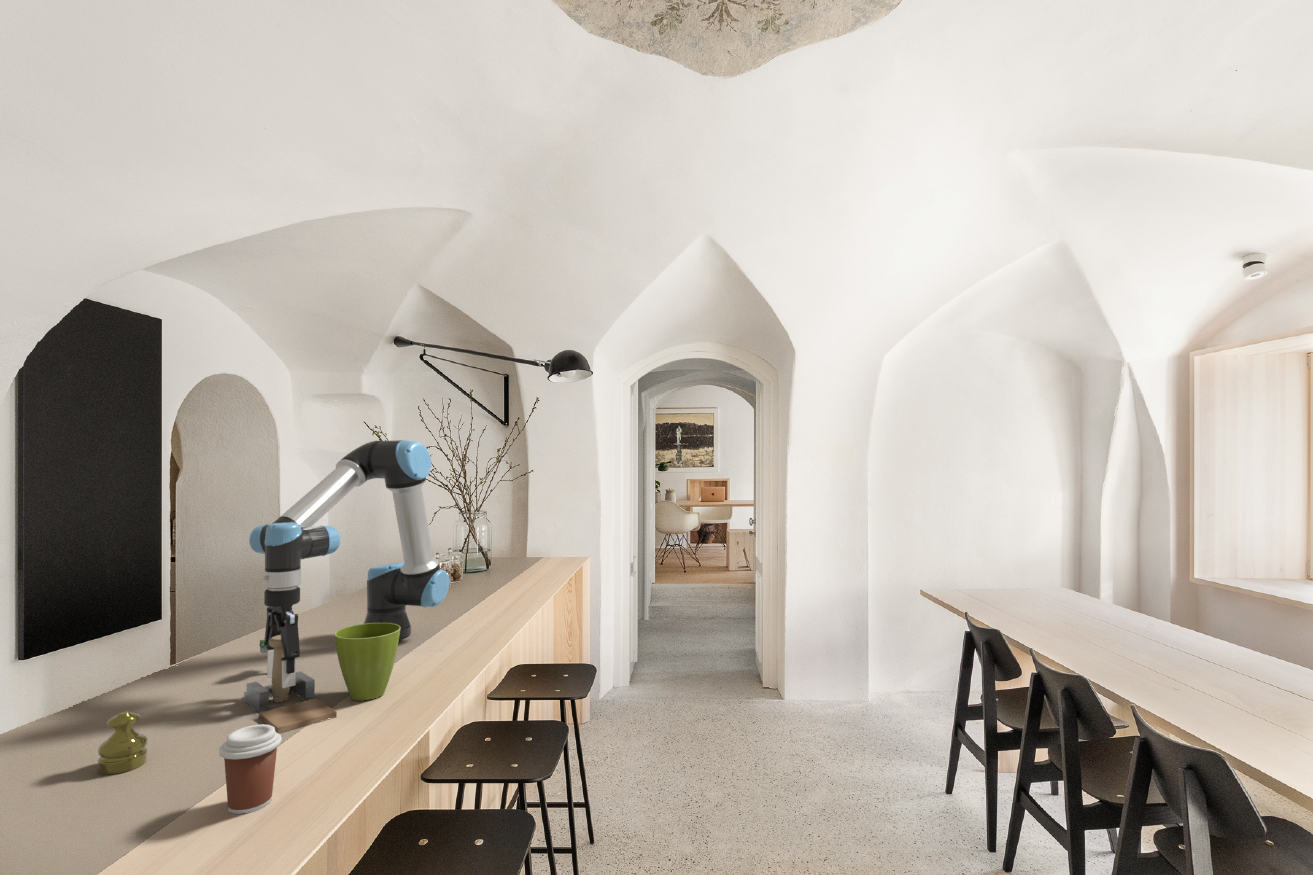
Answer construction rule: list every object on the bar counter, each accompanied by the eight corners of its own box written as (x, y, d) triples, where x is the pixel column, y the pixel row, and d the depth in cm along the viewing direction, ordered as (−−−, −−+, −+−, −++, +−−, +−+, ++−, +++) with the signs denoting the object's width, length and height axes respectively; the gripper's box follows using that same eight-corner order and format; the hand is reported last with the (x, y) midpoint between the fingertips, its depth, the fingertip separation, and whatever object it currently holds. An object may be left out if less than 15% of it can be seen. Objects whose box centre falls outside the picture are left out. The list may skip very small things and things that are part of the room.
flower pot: (319, 700, 159) (320, 633, 159) (371, 681, 172) (372, 619, 172) (361, 711, 152) (362, 641, 152) (412, 691, 165) (413, 626, 166)
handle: (264, 706, 155) (265, 641, 155) (275, 696, 161) (276, 634, 162) (286, 704, 156) (287, 641, 156) (296, 695, 162) (297, 633, 163)
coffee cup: (291, 789, 117) (292, 721, 117) (262, 818, 108) (263, 743, 108) (238, 790, 117) (239, 721, 117) (205, 818, 108) (206, 744, 108)
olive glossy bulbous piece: (141, 753, 131) (142, 702, 131) (152, 764, 126) (153, 711, 126) (93, 767, 125) (94, 713, 125) (102, 779, 120) (103, 724, 121)
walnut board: (315, 703, 157) (315, 698, 157) (336, 717, 149) (336, 711, 149) (259, 718, 148) (259, 712, 148) (278, 733, 140) (278, 727, 140)
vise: (294, 685, 169) (294, 667, 169) (314, 698, 160) (314, 679, 160) (241, 698, 160) (241, 679, 160) (259, 712, 151) (259, 692, 151)
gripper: (250, 583, 164) (248, 674, 163) (281, 596, 149) (280, 697, 149) (283, 579, 169) (281, 667, 169) (316, 591, 155) (315, 688, 154)
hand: (281, 681), depth 159 cm, fingers open, 9 cm apart
